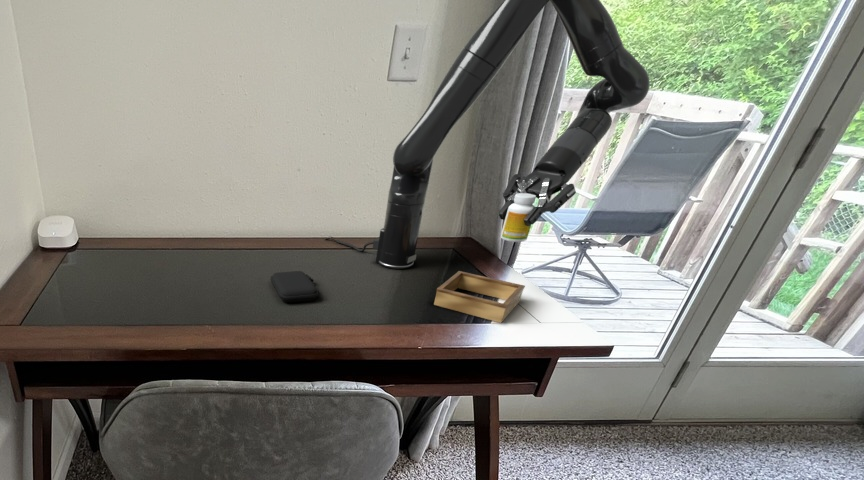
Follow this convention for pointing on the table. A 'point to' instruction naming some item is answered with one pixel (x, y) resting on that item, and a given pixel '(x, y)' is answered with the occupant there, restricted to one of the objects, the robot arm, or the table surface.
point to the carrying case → (294, 286)
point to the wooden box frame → (475, 304)
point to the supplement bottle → (518, 218)
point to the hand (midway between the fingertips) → (513, 220)
